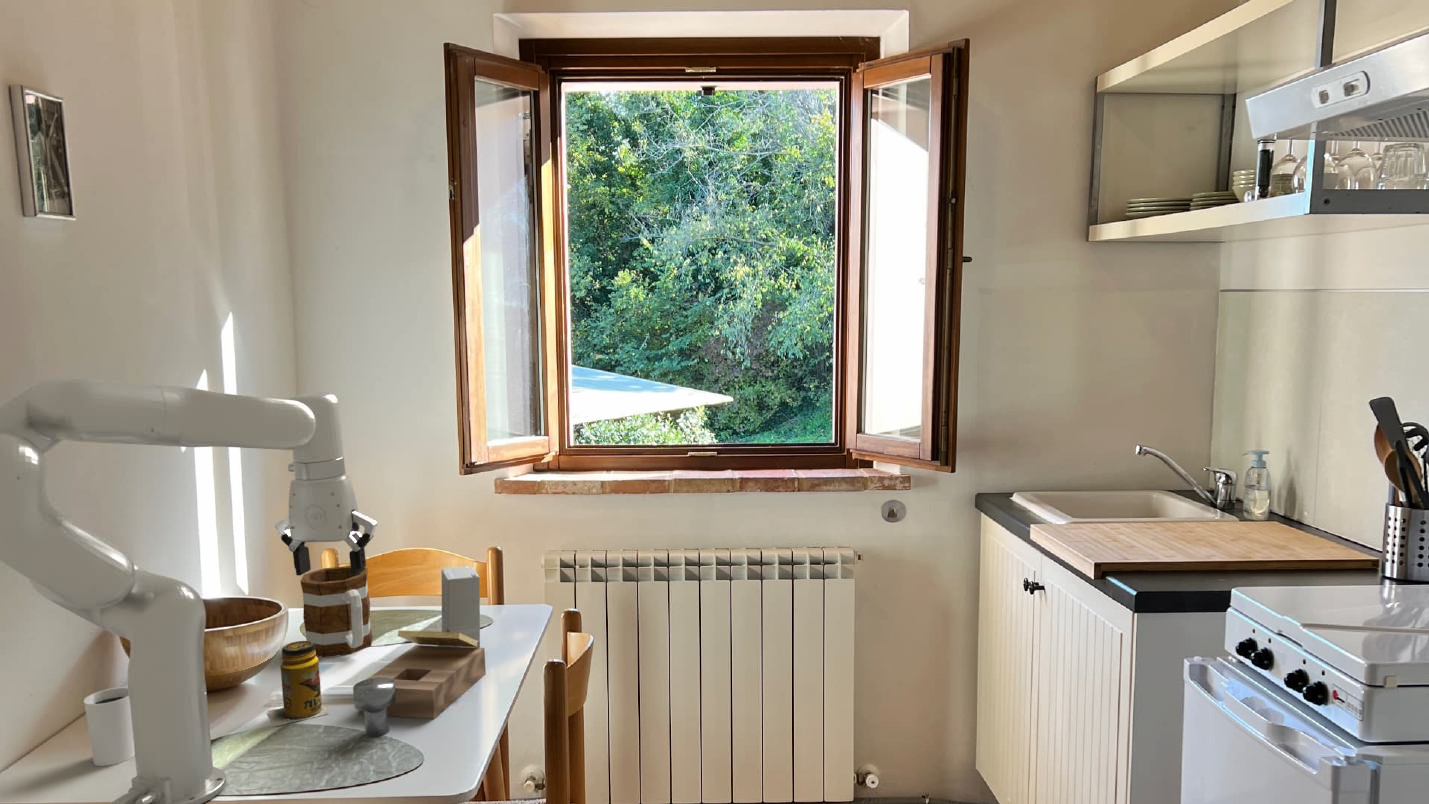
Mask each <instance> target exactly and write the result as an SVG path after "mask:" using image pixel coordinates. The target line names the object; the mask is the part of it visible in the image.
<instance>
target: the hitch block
mask: <svg viewBox="0 0 1429 804" xmlns="http://www.w3.org/2000/svg"><path fill="white" fill-rule="evenodd" d="M485 651H486V650H485V647H480V648H473V647H450V646H439V645H419V644H415V645H414V646H412V647H410V649H407V650H406V651H404V653H402V654H401V655H399V656H398V657H397V658H395V659H393V660H392V661H391V662H389V663H388V664H386V665H385V666H384V667H383V666H382V668H381V669H379V670H377V671H376V672H375V673H373V674H372V675H370V676H369V677H368V678H367V679H370V678H377V677H387V678H391V679H393V680H394V681H395V694H396V701H395V702H394V703H393V704H392V705H390V706H388V707H387V710H388V717H395V718H396V717H397V718H398V717H399V718H413V719H414V718H415V719H431V720H434V719H436V718H438V716H439V715H441V714H443V712H444V711H445V710H447V709H448V708H449V707H450V706H451V705H452V704H453V703H454V702H456V700H458V699H459V698H460V697H461V696H462V695H463V694H465V693H466V692H467V691H468V690H469V689H470V688H472V687H473V686H474V685H475V684H476V683H477V682H479V681H480V679H482V678H483V677H484V676H485V675H486V674H487V671H486V654H485ZM358 714H359V715H361V716H364V711H362V710H358Z"/></svg>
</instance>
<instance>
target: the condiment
mask: <svg viewBox="0 0 1429 804" xmlns="http://www.w3.org/2000/svg"><path fill="white" fill-rule="evenodd" d="M315 655H316V652H315V644H314V643H313V642H311V641H306V640H298V641H293V642H290V643H287V644H285V645H284V646H283V647H282V648H281V660H282V661H281V664H280V679H281V691H282V701H283V707H281V708H274V709H270V710H267V714H268V716H269V718H270V720H271V722H272V724H273V725H274V727H278V726H282V725H286V724H290V723H294V722H300V721H304V720H308V719H309V720H310V719H313V718H317V717H321V716H325V715H328V713H329V712H328V711H327V709H326V708H325V706H324V705H323V703H322V687H321V678H320V676H321V675H320V663H319V658H318V656H315Z"/></svg>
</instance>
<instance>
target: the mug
mask: <svg viewBox="0 0 1429 804" xmlns="http://www.w3.org/2000/svg"><path fill="white" fill-rule="evenodd" d="M368 572H369V569H368V568H367V567H365V570H364V571H363V572H361V573H359V574H358V575H352V574H351V566H350V565H344V566H335V567H326V568H325V567H324V568H321V569H317V570H315V571H311V572H306V573H304V574H302V577H301V579H300V581H299V582H300V586H301V587H300V588H301V591H302V598H303V625H304V628H305V638H306V639H305V641H311V642H313V643H314V644H315V652H316V655H315V656H316V657H317V658H318V657H319V658H331V657H339V656H347V655H353V654H354V652H355V653H358V652H360V651H362V650H365V649H367V648H370V647H372V644H373V643H372V642H373V639H372V638H373V637H374V636H373V633H372V632H373V631H372V628H371V616H370V615H371V602H370V595H369V587H368ZM352 653H353V654H352ZM338 655H339V656H338Z"/></svg>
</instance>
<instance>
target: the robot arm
mask: <svg viewBox="0 0 1429 804" xmlns="http://www.w3.org/2000/svg"><path fill="white" fill-rule="evenodd" d="M340 414H341V413H340V406H339V401H338V397H337V396H336V395H335V394H333V393H331V392H310V393H301V394H296V395H294V396H291V397H277V398H276V397H275V398H274V397H273V398H272V397H260V396H249V395H241V394H239V395H238V394H232V393H223V392H216V391H211V390H205V389H199V388H193V387H184V386H177V385H162V384H152V383H143V382H142V383H141V382H131V381H120V380H109V379H102V378H101V379H100V378H89V377H69V376H68V377H67V376H55V377H49V378H46V379H43V380H41V381H38V382H37V383H34V384H32V385H31V386H30V387H28V388H26V389H24V390H23V391H21V392H20V393H18V394H17V395H15V396H14V397H13V398H10V399H9V400H7V401H5V402H4V403H3V404H1V405H0V563H2V564H3V565H6V566H7V567H9V568H10V569H12V570H14V571H16V572H17V573H18V574H20V575H22V576H23V577H25V578H26V579H28V580H29V583H30V585H31V587H32V588H33V589H34V590H35V591H36V592H37V593H38V594H39V595H40V596H42V597H44V598H45V599H47V600H48V601H50V602H52V603H54V604H55V605H58V606H59V607H61V608H64V609H65V610H67V611H69V612H70V613H73V614H74V615H76V616H78V617H80V618H82V619H84V620H86V621H88V622H90V623H92V624H93V625H96V626H97V627H99V628H101V629H103V630H105V631H106V632H109V633H111V634H114V635H115V636H118V637H121V638H123V639H126V640H128V641H129V642H130V643H129V644H130V653H129V657H128V658H129V660H128V665H127V666H128V667H127V688H128V693H129V699H130V709H131V720H132V730H133V740H134V751H135V755H134V758H135V759H134V761H135V769H136V770H135V771H136V776H134V777H132V778H131V787H130V788H129V789H128V790H127V791H128V792H126V793H124V794H122V795H121V796H120V797H118V798H116V799H115V800H114V801H112V802H111V804H204V803H207V801H210V800H212V799H213V798H215V796H218V795H219V794H220V793H221V792H222V791H223V790H224V788H225V787H226V784H227V776H226V773H225V771H223V770H222V769H221V768H219V767H215V766H213V751H212V743H211V730H210V728H211V727H210V719H209V717H210V716H209V706H208V696H207V694H208V693H207V685H206V683H207V682H206V677H205V665H204V664H205V663H204V645H205V644H204V642H205V640H204V639H205V630H206V624H207V623H206V622H207V621H206V620H207V613H206V607H205V603H204V601H203V599H202V596H200V594H199V593H198V592H197V591H196V590H195V589H194V588H193V587H192V586H191V585H189V584H187V583H186V582H184V581H181V580H178V579H175V578H172V577H169V576H164V575H161V574H157V573H153V572H150V571H147V570H146V569H144V568H141V566H138V565H136V564H134V562H133V560H132V558H131V556H130V555H129V554H128V553H127V552H126V551H125V550H124V549H123V548H121V547H120V546H119V545H117V544H115V543H114V542H112V541H109V540H107V539H105V538H103V537H101V536H100V535H98V534H96V533H94V532H93V531H91V530H89V529H87V528H86V527H84V526H82V525H81V524H79V523H77V522H76V521H74V520H73V519H71V518H70V517H68V516H67V515H65V514H64V513H63V512H61V511H59V510H58V509H57V508H55V506H53V505H52V504H51V501H50V500H49V498H48V495H47V474H48V472H47V471H48V469H47V460H46V457H45V454H46V453H48V452H50V451H51V450H53V449H54V448H55V447H56V446H57V445H59V444H60V443H61V442H63V441H72V442H77V443H80V442H81V443H93V444H94V443H95V444H96V443H97V444H116V445H118V444H120V445H121V444H122V445H139V446H140V445H143V446H144V445H145V446H160V447H161V446H163V447H182V448H207V447H209V448H213V447H214V448H215V447H216V448H219V447H222V448H242V449H245V448H246V449H262V450H280V451H281V450H283V451H284V450H285V451H291V450H292V458H293V459H292V460H293V461H292V463H289V464H288V466H287V470H288V472H293V474H294V478H295V479H292V480H291V481H290V484H289V485H290V486H289V493H288V516H287V517H285V518H284V519H282V520H280V521H278V522H277V523H275V525H274V528H275V530H276V531H277V533H278V535H279V536H280V539H281V541H282V542H283V543H284V544H285V545H286V546H287V547H288V550H289V551H290V552H291V553H292V557H293V558H292V559H293V567H294V569H295V575H296V576H303V575H304V574H307V573H309V571H311V560H310V559H311V558H310V549H309V547H308V546H306V544H307V543H334V542H335V543H336V542H338V543H339V542H343V541H344V542H345V543H346V544H347V545H348V546H349V547H350V549H351V551H349V553H348V554H349V566H351V574H352V575H358V574H359V573H361V572H363V571H364V570H365V568H366V565H367V561H366V552H365V550H366V549H365V548H366V547H367V546H368V544H369V543H370V541H371V540H372V539H373V538H374V534H375V531H376V529H377V527H378V522H377V521H376V520H375V519H373V518H371V517H368V516H367V515H365V514H362V513H360V512H359V507H358V503H357V497H356V494H355V493H356V492H355V489H354V485H353V484H352V480H351V478H350V477H351V476H350V475H346V474H347V473H346V466H345V463H346V462H345V456H344V455H345V454H344V445H343V444H344V443H343V436H342V435H343V434H342V426H341V425H342V424H341V415H340ZM360 526H361V527H363V528H364V531H363V534H361V533H360V532H359V531H360V528H361V527H360Z"/></svg>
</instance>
